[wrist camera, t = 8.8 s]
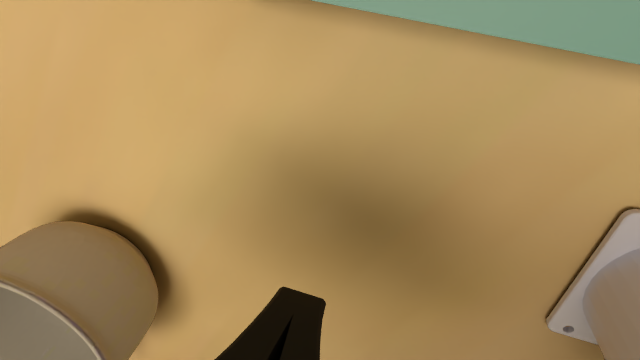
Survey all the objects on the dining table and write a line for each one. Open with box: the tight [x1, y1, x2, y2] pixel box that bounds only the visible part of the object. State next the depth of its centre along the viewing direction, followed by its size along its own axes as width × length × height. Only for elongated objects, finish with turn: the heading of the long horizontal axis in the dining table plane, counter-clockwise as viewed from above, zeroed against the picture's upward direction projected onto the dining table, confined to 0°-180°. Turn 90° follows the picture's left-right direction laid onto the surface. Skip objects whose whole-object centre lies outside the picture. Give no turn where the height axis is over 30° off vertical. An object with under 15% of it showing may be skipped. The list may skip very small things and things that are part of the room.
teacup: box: [0, 221, 158, 360], centre depth 25 cm, size 14×11×8 cm
